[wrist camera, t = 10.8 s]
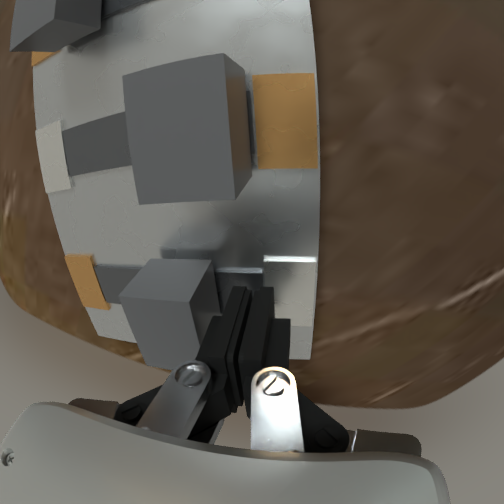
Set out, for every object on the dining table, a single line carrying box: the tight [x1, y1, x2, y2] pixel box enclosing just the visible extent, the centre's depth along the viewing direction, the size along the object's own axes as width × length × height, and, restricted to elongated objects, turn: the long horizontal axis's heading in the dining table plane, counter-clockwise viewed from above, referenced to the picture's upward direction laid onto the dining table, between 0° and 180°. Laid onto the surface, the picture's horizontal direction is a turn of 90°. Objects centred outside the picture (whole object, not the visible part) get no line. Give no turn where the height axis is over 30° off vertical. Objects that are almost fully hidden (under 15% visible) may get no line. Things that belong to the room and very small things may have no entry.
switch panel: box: [32, 0, 320, 359], centre depth 11 cm, size 14×24×2 cm, turn 3°
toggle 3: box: [118, 258, 221, 370], centre depth 12 cm, size 3×4×3 cm
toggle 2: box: [122, 53, 252, 205], centre depth 8 cm, size 3×4×3 cm
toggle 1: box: [10, 0, 102, 52], centre depth 6 cm, size 3×4×3 cm
